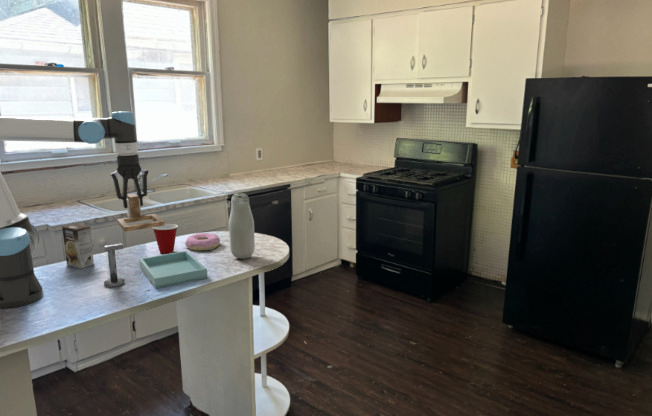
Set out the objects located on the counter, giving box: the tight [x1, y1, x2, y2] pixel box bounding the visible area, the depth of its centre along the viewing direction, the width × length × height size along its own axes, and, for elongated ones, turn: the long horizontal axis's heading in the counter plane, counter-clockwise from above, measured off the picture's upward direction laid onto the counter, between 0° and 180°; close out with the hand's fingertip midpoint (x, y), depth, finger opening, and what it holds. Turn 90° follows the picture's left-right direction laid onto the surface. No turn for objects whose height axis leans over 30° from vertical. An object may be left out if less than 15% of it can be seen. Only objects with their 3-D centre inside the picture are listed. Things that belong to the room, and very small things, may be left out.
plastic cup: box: [151, 223, 179, 255], centre depth 209 cm, size 11×11×12 cm
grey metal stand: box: [103, 243, 126, 289], centre depth 173 cm, size 8×7×15 cm
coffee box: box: [61, 223, 95, 269], centre depth 192 cm, size 9×6×16 cm
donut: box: [184, 232, 221, 252], centre depth 218 cm, size 16×15×5 cm
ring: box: [116, 193, 166, 233], centre depth 176 cm, size 14×20×9 cm
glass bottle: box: [228, 192, 255, 260], centre depth 200 cm, size 10×10×28 cm
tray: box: [138, 250, 208, 289], centre depth 185 cm, size 19×25×4 cm
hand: (134, 215), depth 183 cm, fingers closed on ring, 3 cm apart
